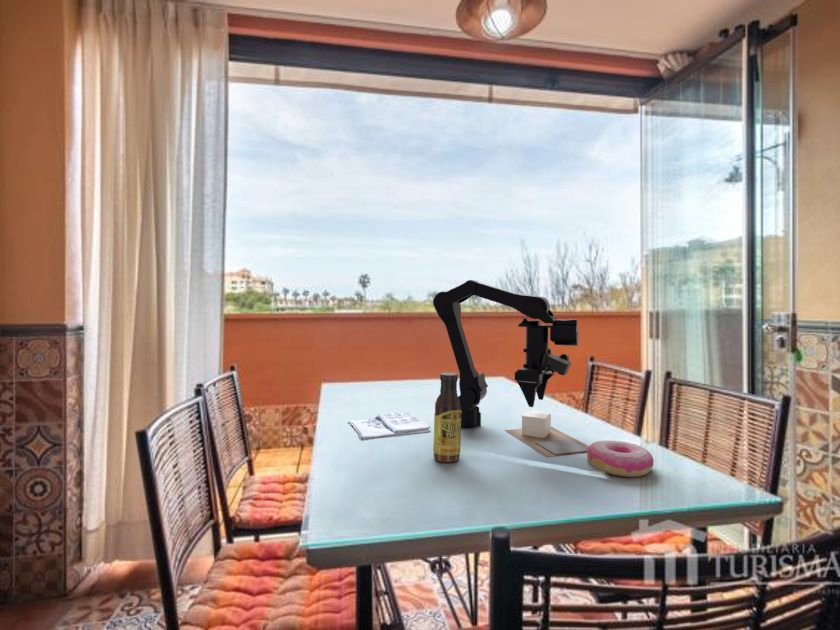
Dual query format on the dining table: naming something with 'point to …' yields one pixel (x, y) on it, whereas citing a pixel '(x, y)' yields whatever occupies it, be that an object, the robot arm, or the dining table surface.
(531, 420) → the off-white cube box
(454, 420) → the sauce bottle
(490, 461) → the dining table surface
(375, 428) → the open sketchbook
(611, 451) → the donut
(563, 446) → the post stand
